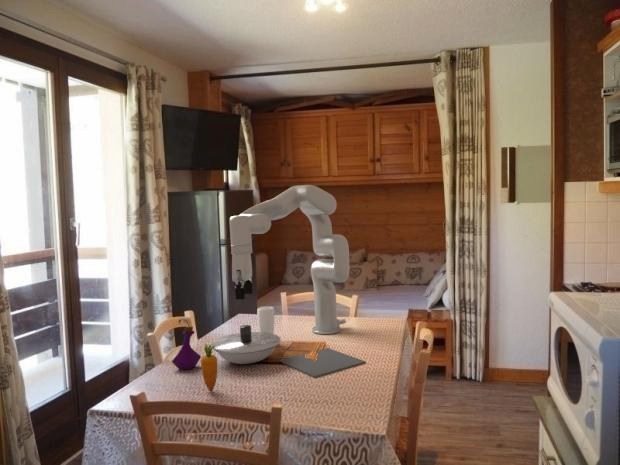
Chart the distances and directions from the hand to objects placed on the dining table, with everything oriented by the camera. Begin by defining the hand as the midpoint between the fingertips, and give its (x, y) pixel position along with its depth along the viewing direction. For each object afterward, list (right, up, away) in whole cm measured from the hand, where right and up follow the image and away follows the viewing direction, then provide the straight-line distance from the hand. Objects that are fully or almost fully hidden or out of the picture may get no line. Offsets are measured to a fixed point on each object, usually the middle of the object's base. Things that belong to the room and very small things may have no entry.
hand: (244, 296), depth 186 cm
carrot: (-7, -26, -27) cm, 38 cm away
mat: (+28, -23, -4) cm, 36 cm away
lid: (+1, -17, +1) cm, 18 cm away
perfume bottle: (-20, -25, -3) cm, 32 cm away
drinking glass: (+7, -22, +21) cm, 32 cm away
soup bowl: (+1, -24, +2) cm, 24 cm away
